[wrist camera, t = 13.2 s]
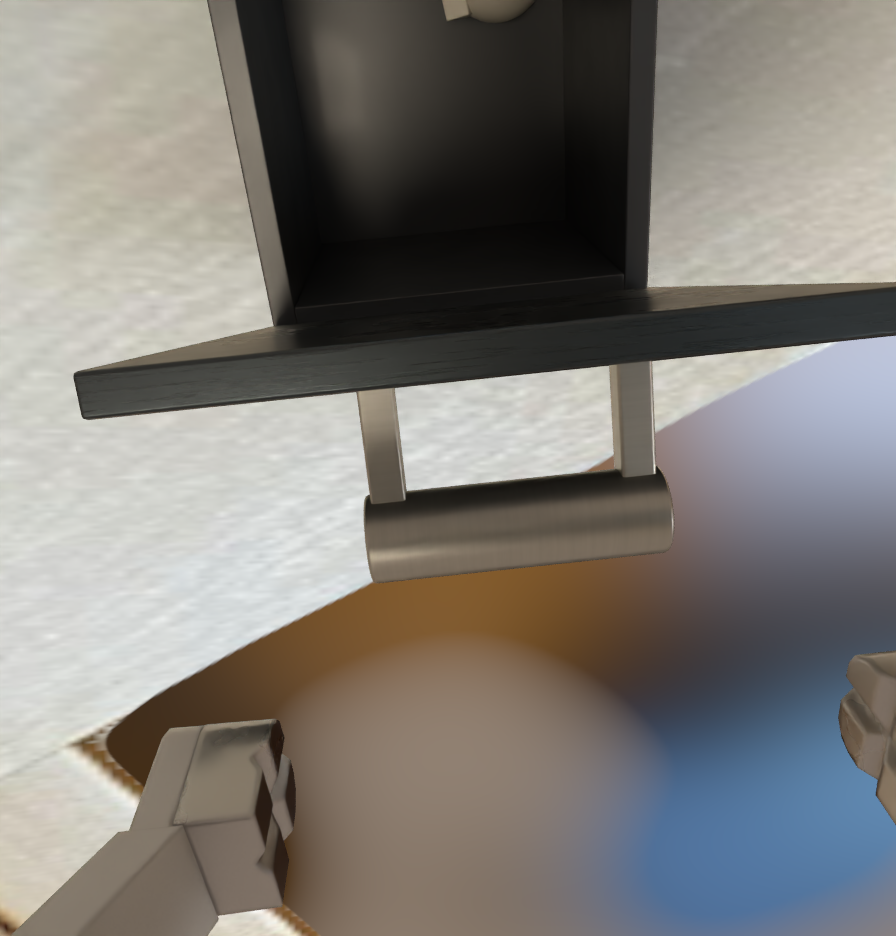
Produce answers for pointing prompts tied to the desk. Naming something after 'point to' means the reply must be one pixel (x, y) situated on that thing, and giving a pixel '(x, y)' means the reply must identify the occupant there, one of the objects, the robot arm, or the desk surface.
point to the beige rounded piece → (485, 9)
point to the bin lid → (487, 356)
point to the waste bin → (440, 150)
